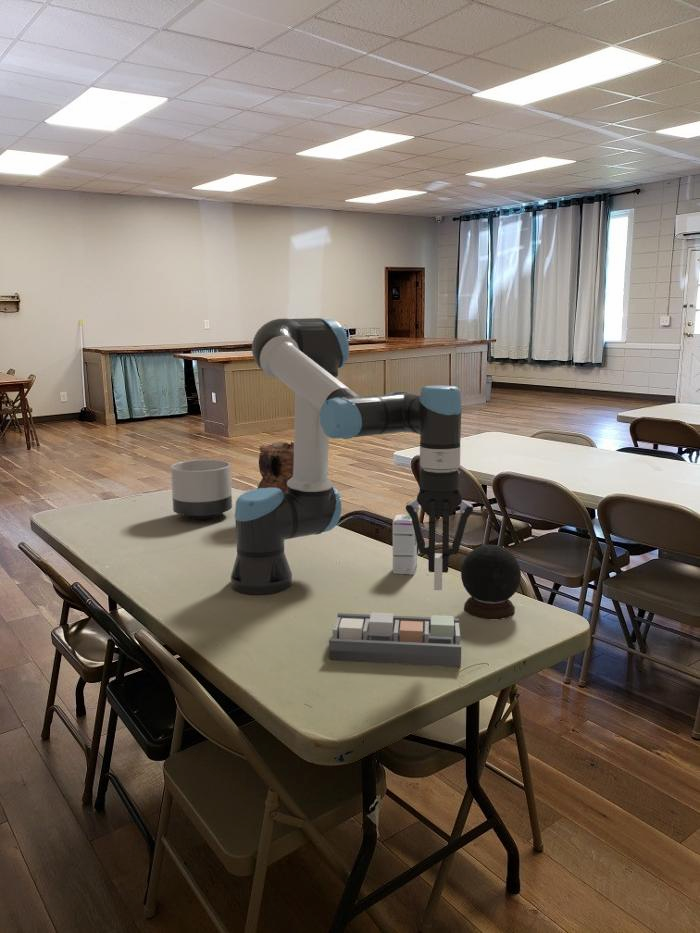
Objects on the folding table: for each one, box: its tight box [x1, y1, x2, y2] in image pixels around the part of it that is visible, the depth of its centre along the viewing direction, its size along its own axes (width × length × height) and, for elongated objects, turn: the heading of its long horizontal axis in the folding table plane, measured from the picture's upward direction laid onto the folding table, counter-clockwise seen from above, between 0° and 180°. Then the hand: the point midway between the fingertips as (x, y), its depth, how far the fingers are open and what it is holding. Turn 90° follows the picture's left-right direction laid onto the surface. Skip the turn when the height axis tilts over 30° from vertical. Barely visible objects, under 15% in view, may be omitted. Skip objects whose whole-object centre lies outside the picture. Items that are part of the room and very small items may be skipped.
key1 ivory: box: [339, 618, 364, 640], centre depth 140 cm, size 4×4×2 cm
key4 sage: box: [430, 614, 454, 637], centre depth 138 cm, size 4×4×2 cm
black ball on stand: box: [460, 544, 522, 620], centre depth 157 cm, size 13×13×15 cm
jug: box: [257, 441, 294, 493], centre depth 230 cm, size 22×21×25 cm
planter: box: [170, 459, 233, 521], centre depth 233 cm, size 19×19×18 cm
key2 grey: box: [369, 612, 394, 634], centre depth 139 cm, size 4×4×2 cm
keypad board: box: [328, 612, 462, 667], centre depth 139 cm, size 25×13×4 cm, turn 83°
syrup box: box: [392, 514, 418, 576], centre depth 181 cm, size 6×6×14 cm
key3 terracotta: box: [400, 621, 423, 643], centre depth 139 cm, size 4×4×2 cm
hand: (438, 587), depth 136 cm, fingers closed
